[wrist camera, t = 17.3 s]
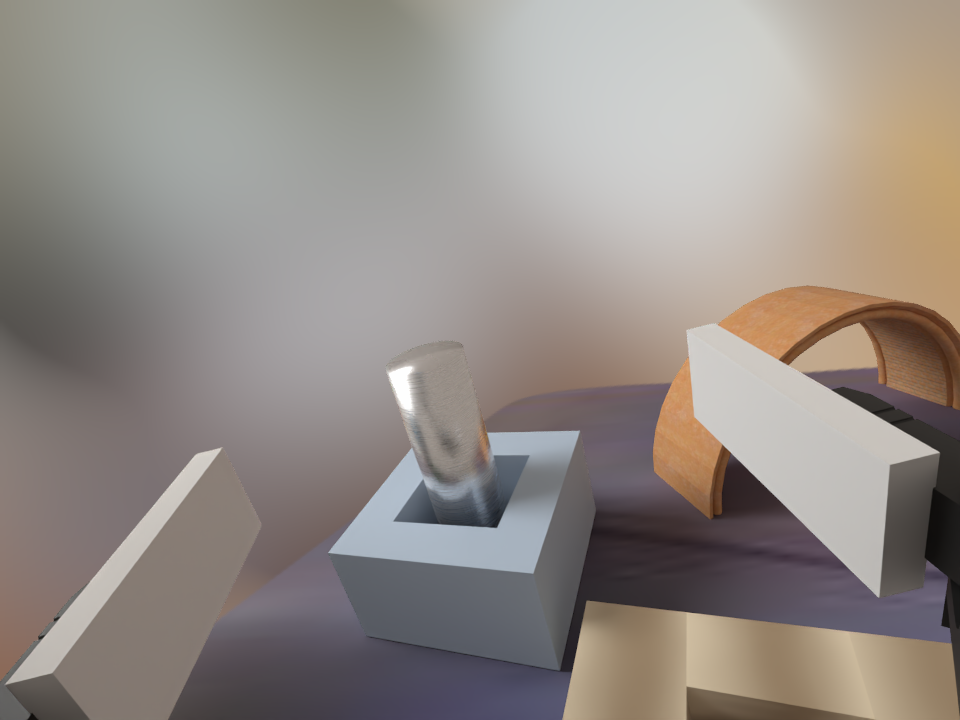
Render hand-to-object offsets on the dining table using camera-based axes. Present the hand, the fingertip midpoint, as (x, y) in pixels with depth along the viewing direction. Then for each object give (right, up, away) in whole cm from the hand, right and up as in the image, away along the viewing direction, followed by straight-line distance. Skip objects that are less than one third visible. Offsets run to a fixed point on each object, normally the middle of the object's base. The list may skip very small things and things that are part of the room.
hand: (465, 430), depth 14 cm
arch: (+22, -4, +20) cm, 30 cm away
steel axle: (+1, -10, +16) cm, 19 cm away
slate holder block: (+1, -10, +16) cm, 19 cm away
